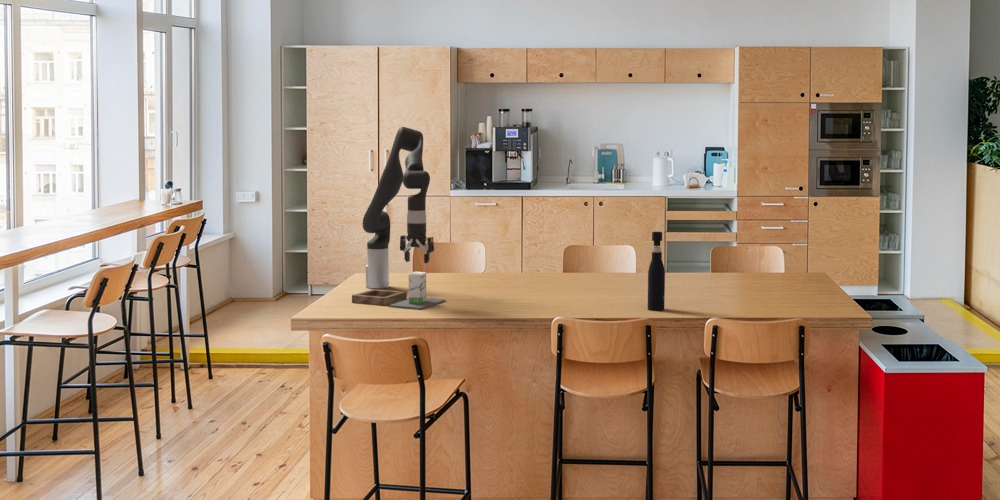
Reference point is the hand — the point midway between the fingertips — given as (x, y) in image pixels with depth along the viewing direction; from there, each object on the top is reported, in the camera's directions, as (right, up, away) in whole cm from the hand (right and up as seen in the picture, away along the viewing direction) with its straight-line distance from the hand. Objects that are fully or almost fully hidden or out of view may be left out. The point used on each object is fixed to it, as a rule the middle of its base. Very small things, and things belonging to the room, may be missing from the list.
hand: (416, 262), depth 411 cm
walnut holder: (-16, -16, +10) cm, 24 cm away
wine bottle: (+93, -18, -10) cm, 95 cm away
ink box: (0, -16, +2) cm, 16 cm away
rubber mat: (0, -17, +2) cm, 17 cm away
